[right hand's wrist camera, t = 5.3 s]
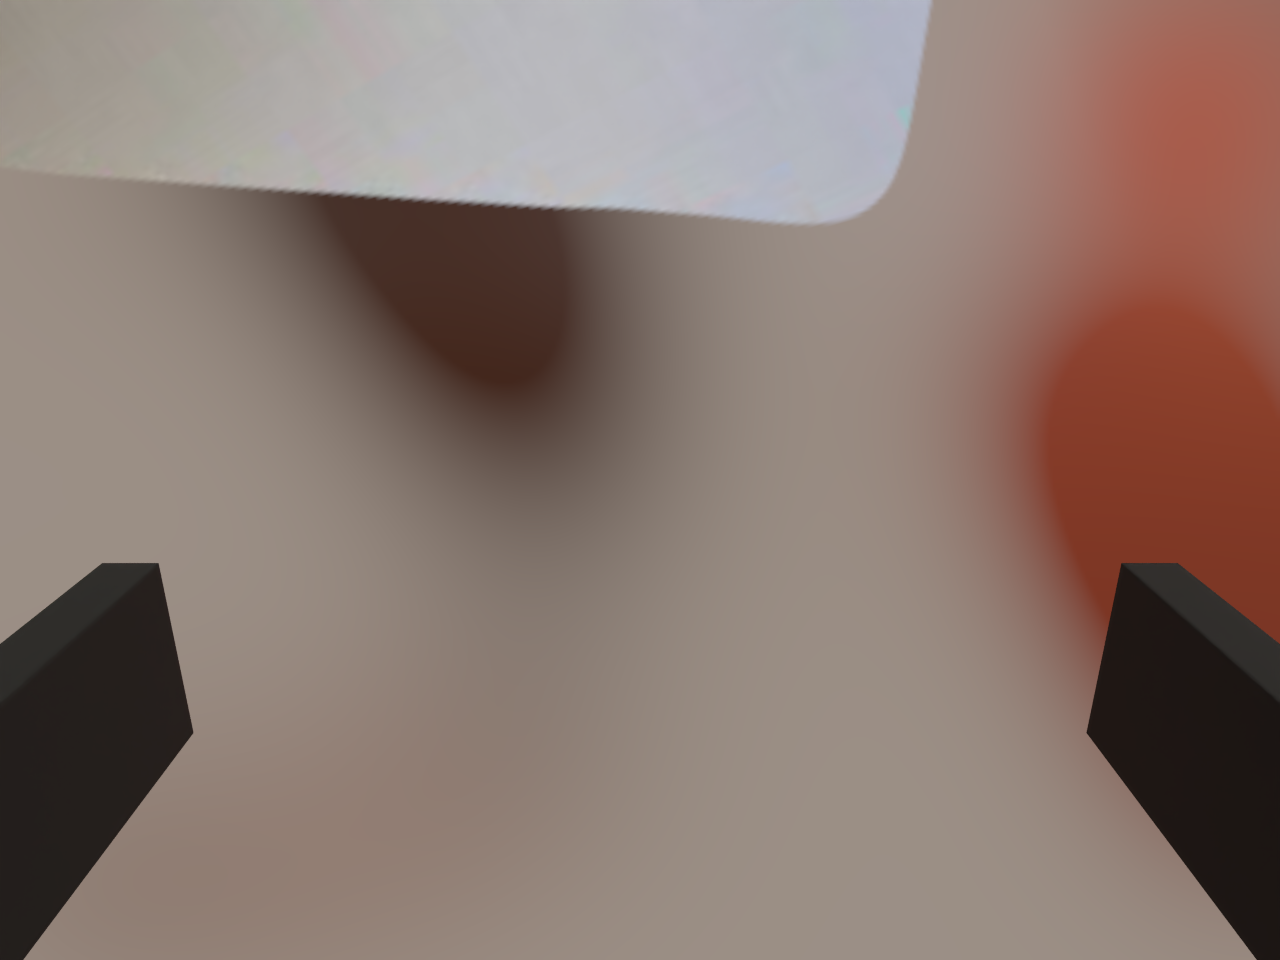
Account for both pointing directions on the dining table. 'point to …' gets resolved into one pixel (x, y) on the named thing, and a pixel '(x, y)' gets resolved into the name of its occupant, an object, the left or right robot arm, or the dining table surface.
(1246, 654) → the right robot arm
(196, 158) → the dining table surface
